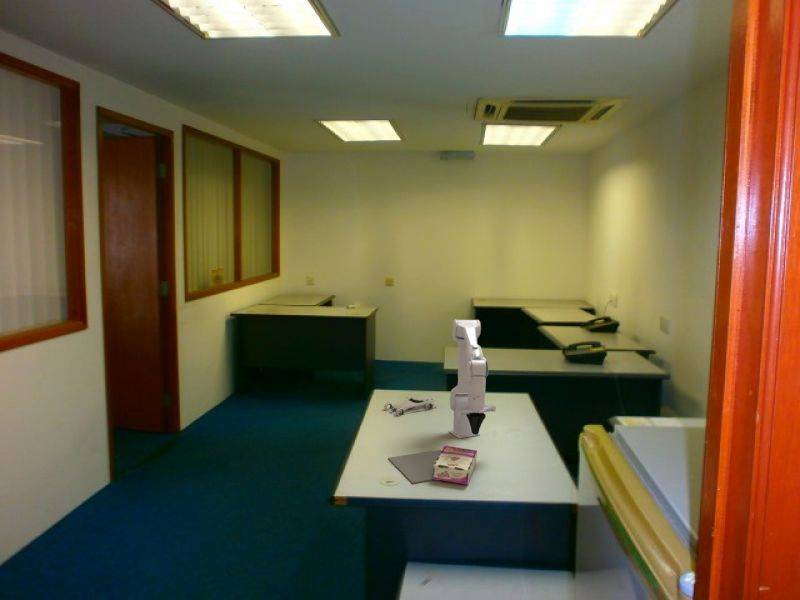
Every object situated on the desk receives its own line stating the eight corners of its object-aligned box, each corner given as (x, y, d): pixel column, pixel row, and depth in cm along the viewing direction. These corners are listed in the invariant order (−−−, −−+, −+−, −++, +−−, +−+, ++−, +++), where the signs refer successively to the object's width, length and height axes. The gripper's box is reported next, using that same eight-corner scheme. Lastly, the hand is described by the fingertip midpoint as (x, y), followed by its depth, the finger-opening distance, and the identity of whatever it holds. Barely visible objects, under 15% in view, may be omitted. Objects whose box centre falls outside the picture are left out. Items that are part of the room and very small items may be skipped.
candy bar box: (443, 459, 191) (431, 479, 175) (444, 445, 190) (432, 464, 174) (476, 464, 187) (467, 485, 172) (477, 450, 187) (468, 469, 171)
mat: (440, 451, 199) (440, 449, 199) (469, 474, 181) (469, 472, 181) (388, 459, 191) (388, 457, 191) (412, 484, 173) (412, 482, 173)
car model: (381, 410, 242) (382, 399, 241) (426, 401, 256) (426, 391, 256) (396, 418, 233) (397, 406, 232) (442, 408, 247) (442, 397, 247)
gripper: (463, 400, 183) (461, 440, 185) (501, 395, 189) (499, 434, 191) (453, 394, 190) (451, 433, 192) (490, 390, 196) (488, 428, 197)
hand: (474, 433), depth 192 cm, fingers closed
